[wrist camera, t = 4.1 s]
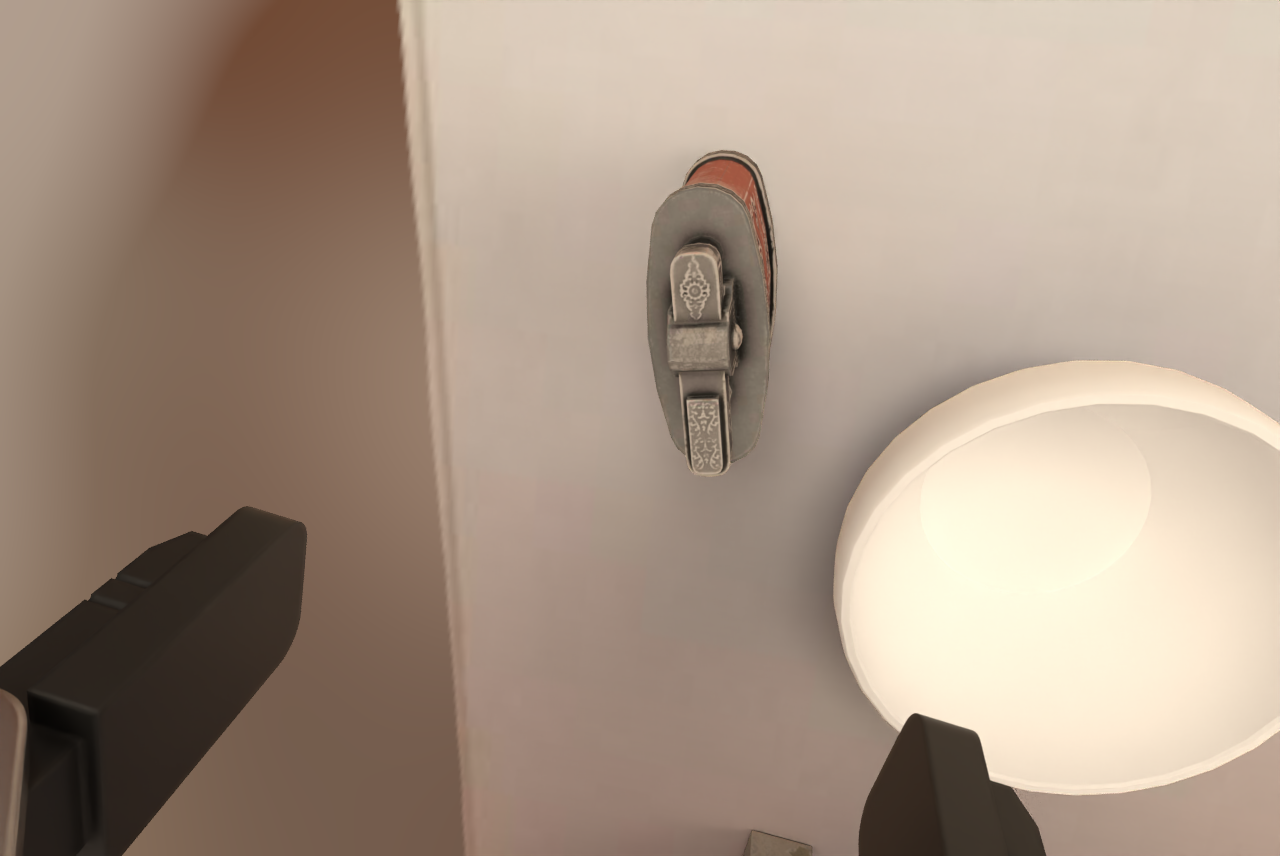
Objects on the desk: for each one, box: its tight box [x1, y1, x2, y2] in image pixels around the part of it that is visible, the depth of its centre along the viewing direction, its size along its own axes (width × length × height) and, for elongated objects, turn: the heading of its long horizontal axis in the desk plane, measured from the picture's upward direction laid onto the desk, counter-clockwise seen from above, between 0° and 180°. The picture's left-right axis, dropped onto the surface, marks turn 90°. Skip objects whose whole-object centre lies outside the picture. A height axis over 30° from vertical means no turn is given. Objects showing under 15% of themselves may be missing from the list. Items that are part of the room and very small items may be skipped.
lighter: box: [646, 150, 777, 477], centre depth 27 cm, size 8×3×10 cm, turn 6°
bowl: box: [833, 360, 1280, 795], centre depth 29 cm, size 14×14×8 cm
